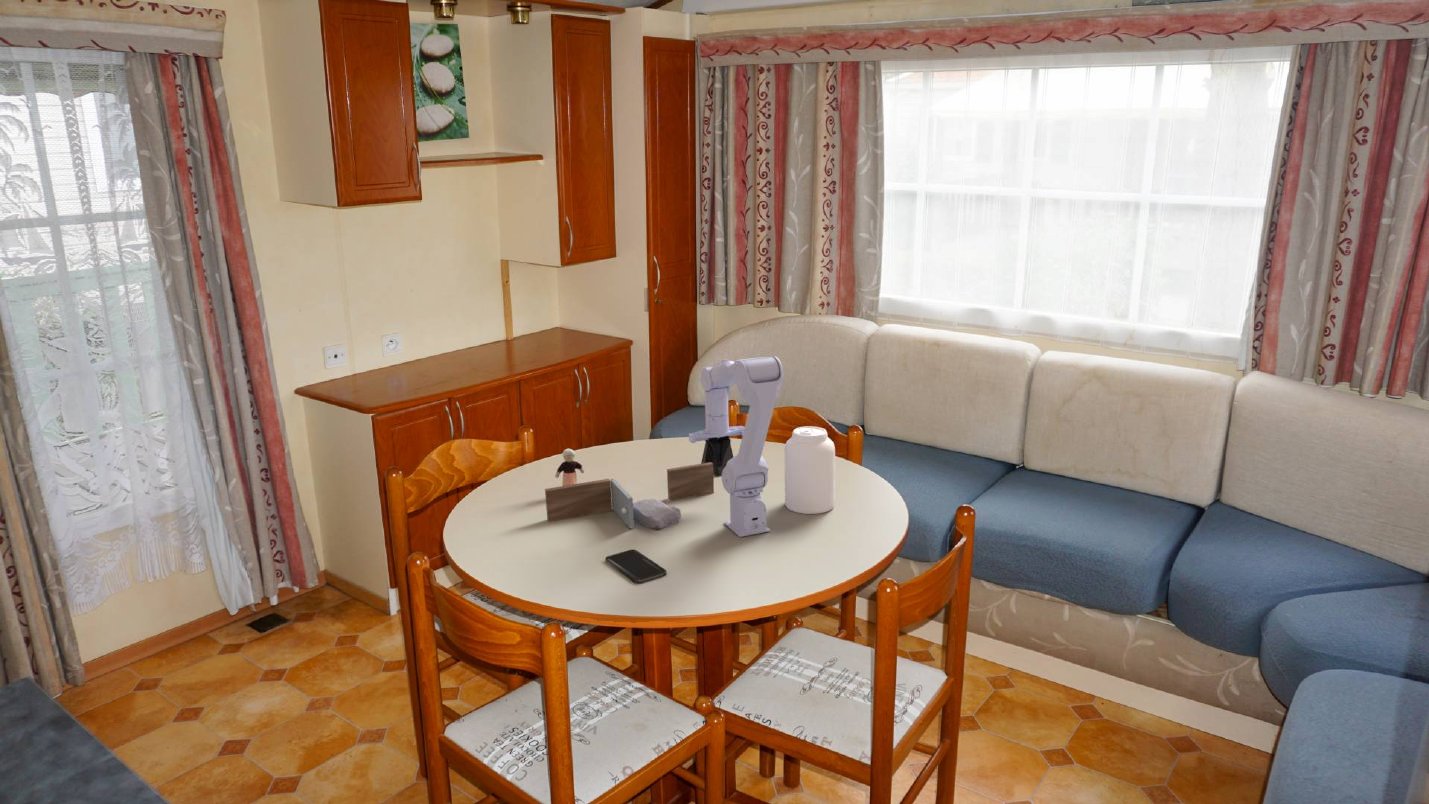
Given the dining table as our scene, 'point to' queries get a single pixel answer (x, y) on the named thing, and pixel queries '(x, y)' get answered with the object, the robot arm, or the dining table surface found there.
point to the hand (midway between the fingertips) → (718, 465)
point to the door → (622, 503)
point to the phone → (635, 566)
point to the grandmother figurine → (569, 468)
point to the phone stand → (708, 458)
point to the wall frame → (598, 493)
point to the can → (809, 471)
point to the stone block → (655, 514)
